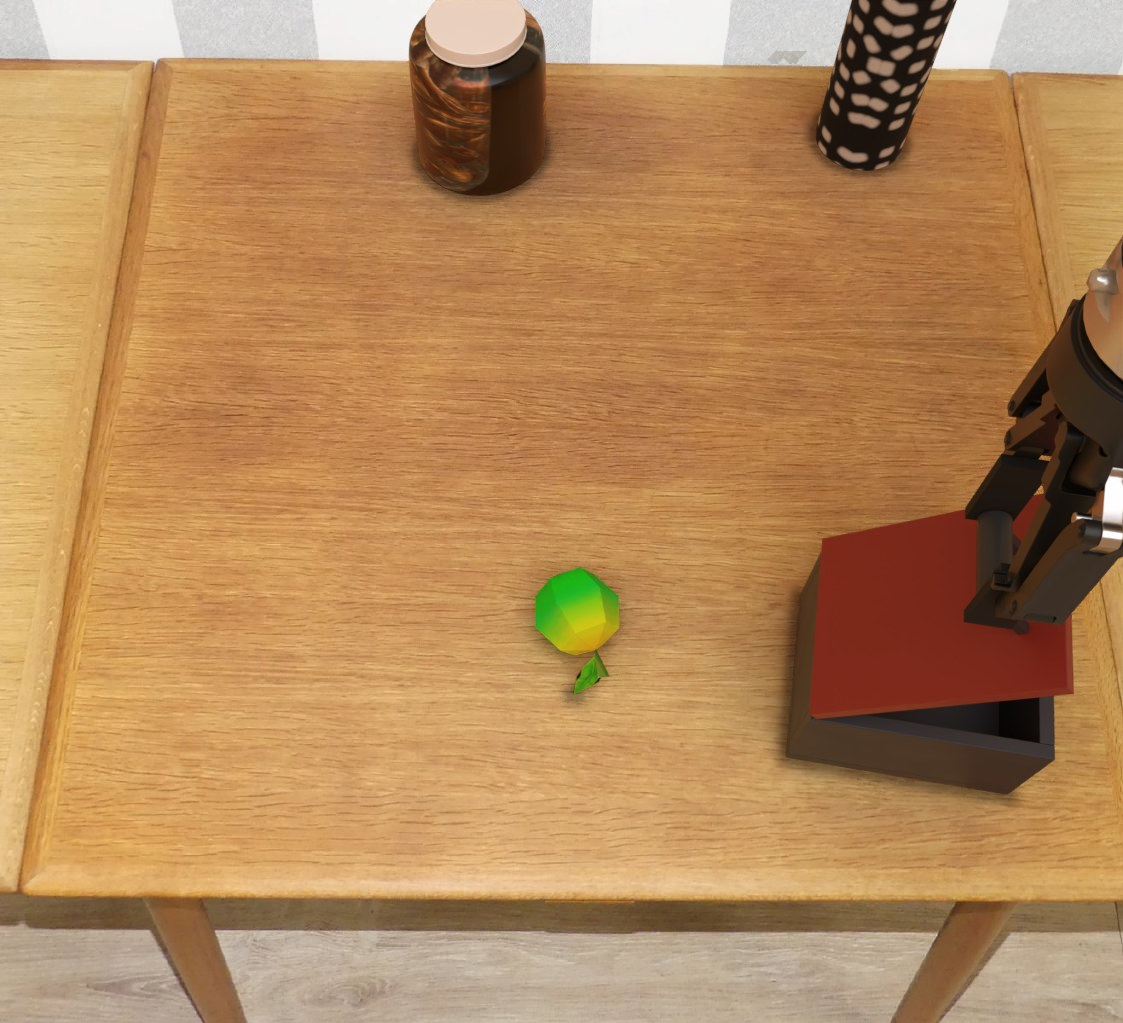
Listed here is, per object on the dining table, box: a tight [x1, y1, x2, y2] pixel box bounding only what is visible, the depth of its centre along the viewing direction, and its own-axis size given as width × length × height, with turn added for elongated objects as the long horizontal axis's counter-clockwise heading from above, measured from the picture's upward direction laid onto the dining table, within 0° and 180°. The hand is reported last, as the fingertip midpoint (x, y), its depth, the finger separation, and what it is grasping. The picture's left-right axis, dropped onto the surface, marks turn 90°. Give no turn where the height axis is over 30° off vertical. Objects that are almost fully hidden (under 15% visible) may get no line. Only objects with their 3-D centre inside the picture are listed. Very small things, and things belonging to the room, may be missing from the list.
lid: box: [809, 492, 1075, 719], centre depth 76 cm, size 17×13×6 cm
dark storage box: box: [785, 552, 1056, 795], centre depth 87 cm, size 16×13×9 cm
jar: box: [408, 0, 547, 196], centre depth 108 cm, size 12×12×15 cm
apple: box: [534, 566, 621, 696], centre depth 90 cm, size 7×6×9 cm
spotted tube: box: [815, 0, 958, 172], centre depth 108 cm, size 8×8×20 cm
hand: (987, 566), depth 72 cm, fingers closed on lid, 6 cm apart
